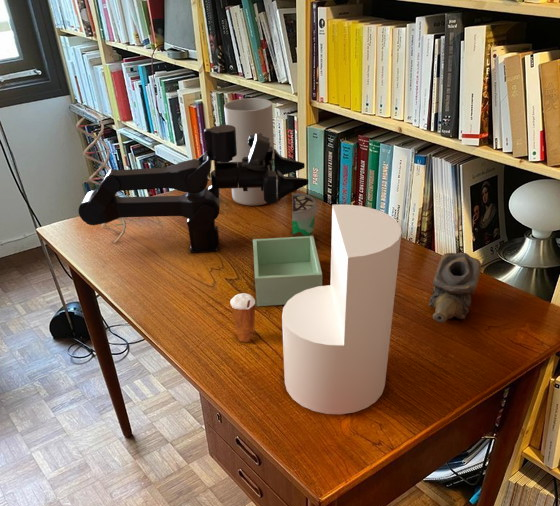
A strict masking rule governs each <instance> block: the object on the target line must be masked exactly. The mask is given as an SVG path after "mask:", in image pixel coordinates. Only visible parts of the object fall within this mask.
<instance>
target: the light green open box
mask: <svg viewBox="0 0 560 506" xmlns="http://www.w3.org/2000/svg"><path fill="white" fill-rule="evenodd" d="M252 245H253V247H252V249H253V266H254V267H253V268H254V271H253V272H254V287H255V302H256V307H266V306H267V307H269V306H270V307H271V306H283V305H284V306H285V304H286V303H287V301H288V300H290V299H291V298H292V297H293V296H295V295H296V294H298V293H300V292H302V291H304V290H307V289H311V288H314V287H318V286H323V272H322V266H321V263H320V262H321V261H320V259H319V254H318V250H317V245H316V241H315V237H314V235H313V236H303V237H293V236H287V237H273V238H272V237H269V238H253V239H252Z"/></svg>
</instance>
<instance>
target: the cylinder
mask: <svg viewBox="0 0 560 506" xmlns="http://www.w3.org/2000/svg"><path fill="white" fill-rule="evenodd" d="M330 241H331V245H330V246H331V247H330V250H331V251H330V281H329V282H330V284H328V285H322V286H318V287H314V288H311V289H307V290H304V291H302V292H300V293H298V294H296V295H295V296H293V297H292V298H291V299H290V300H288V301H287V303H286V304H285V305H284V306H283V307H282V311H281V312H282V313H281V325H282V327H281V329H282V350H283V352H282V353H283V375H284V377H283V378H284V386H285V390H286V392H287V393H288V395H289V396H290V397H291V399H292V400H293V401H295V402H296V403H297V404H298V405H300V406H301V407H303V408H306V409H308V410H310V411H312V412H317V413H321V414H325V415H345V414H351V413H356V412H359V411H362V410H364V409H367V408H369V407H371V406H372V405H373V404H375V403H376V402H377V401H378V400H379V399H380V397H381V396H382V395H383V392H384V390H385V386H386V379H387V378H386V377H387V369H388V360H389V352H390V351H389V350H390V343H391V332H392V325H393V314H394V304H395V297H396V296H395V295H396V287H397V278H398V269H399V258H400V251H401V243H402V242H401V241H402V228H401V225H400V223H399V222H398V221H397V220H396V219H395V218H394V217H392V216H391V215H390V214H388V213H387V212H384V211H381V210H378V209H375V208H372V207H368V206H363V205H355V204H332V206H331V240H330Z"/></svg>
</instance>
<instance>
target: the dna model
mask: <svg viewBox="0 0 560 506" xmlns="http://www.w3.org/2000/svg"><path fill="white" fill-rule="evenodd" d="M89 113H90V114H92V115H94V117H96V118H97V120H98V121H99V122H96V123H91V124H82V125H80V124H81V123H82V122H83V121H84V120H85V116H83V117H82V118H81V119H79V120H78V121H77V123H76V125H74V127H75V128H76V129H77V130H78V131H79V132H81V133H83V134H84V135H87V136H89V137H90V138H93V141H92V142H91V143H90V144H89V145H88V146H87V147H86V148H85V149H84V151H82V155H83V156H84V157H85V158H86V159H89V160H91V161H93V162H95V163H98V164H100V166H99V167H98V168H97V169H96V170H95V171H94V172H93V173H92V174H91V175H90V176H89V177H88V178H87V179H88V180H89V182H91V183H93V184H95V185H97V186H99V184H100V183H101V182H99V181H96V180H100V179H101V177H95V176H97V175H98V174H99V173H100V172H101V171H102V170H103V169H104V168H105V169H106V170H107V171H110V170H113V169H112V167H110V166H109V165H107V163H109V160H110V156H111V152H110V150H111V148H110V147H109V146H108V144H107V143H106V142H105V141H104V140H102V139H101V138H102V135H103V133H104V129H105V125H104V121H103V119H102V118H101V116H100V115H98V113H97V112H94V111H93V110H91V109H90V110H89ZM99 125H100V131H99V132H98V135H94V134H92V133H90V132H87V131H86V130H84V129H82V128H83V127H88V126H99ZM97 142H100V143H101V145H102V146H104V148H105V149H104V150H98V151H97V150H96V152H95V151H89V150H90V149H91V148H92V147H93V146H95V144H96V143H97ZM88 151H89V152H88ZM103 152H106V157H105V161H100V160H98V159H96V158H94V156H89V155H90V154H95V153H103ZM94 177H95V178H94ZM104 178H105V176H103V179H104ZM115 195H116V196H119V194H118V192H117V193H116V194H115ZM120 219H121V221H122V223H116V224H109V225H107V224H108V223H104V224H100V228H102V229H103V230H108V231H110V232H113V233H116V234H119V231H118V230H115V229H113V228H110V227H115V226H123V227H122V231H121V233H120V234H119V236H118V237H117V238H116V239H115V240H114V241H113V242H114V243H115V244H116V243H117V242H119V241H120V240H121V238H122V237H123V236H124V234H125V233H126V228H127V223H126V220H125V217H122V218H120Z"/></svg>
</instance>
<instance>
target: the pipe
mask: <svg viewBox="0 0 560 506" xmlns="http://www.w3.org/2000/svg"><path fill="white" fill-rule="evenodd" d="M481 272H482V262H481V261H480V260H479V259H478V258H475V257H472V256H471V255H470V254H468V253H466V252H447V253H444V254H442V256H441V257H440V259H439V262H438V265H437V269H436V272H435V274H434V277H433V281H432V284H433V289H432V293H433V294H432V295H431V296H430V298H429V302H428V306H429V307H431V308H435V310H434V311H435V312H434V313H433V314H432V319H433V320H434V321H435V322H437V323H438V324H445V323H446V321H448V320H449V319H452V318H454V317H455V318H456V319H459V320H465V318H466V316H467V314H468V313H469V308H470V306H471V305H472V296H473V295H474V294H475V291H476V289H477V287H478V284H479V280H480V276H481Z"/></svg>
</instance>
